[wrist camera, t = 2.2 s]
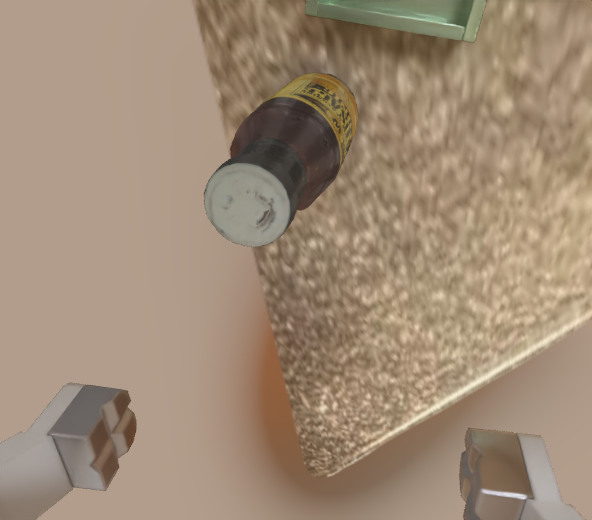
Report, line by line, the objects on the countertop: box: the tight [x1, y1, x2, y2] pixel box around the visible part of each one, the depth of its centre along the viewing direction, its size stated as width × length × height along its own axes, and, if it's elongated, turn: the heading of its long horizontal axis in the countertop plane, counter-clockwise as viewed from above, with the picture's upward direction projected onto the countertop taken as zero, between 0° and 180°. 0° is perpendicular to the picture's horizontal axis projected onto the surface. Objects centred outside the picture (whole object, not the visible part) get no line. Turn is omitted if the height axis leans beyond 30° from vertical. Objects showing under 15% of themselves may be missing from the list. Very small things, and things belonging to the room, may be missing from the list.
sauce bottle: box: [204, 73, 358, 247], centre depth 30 cm, size 7×6×20 cm
